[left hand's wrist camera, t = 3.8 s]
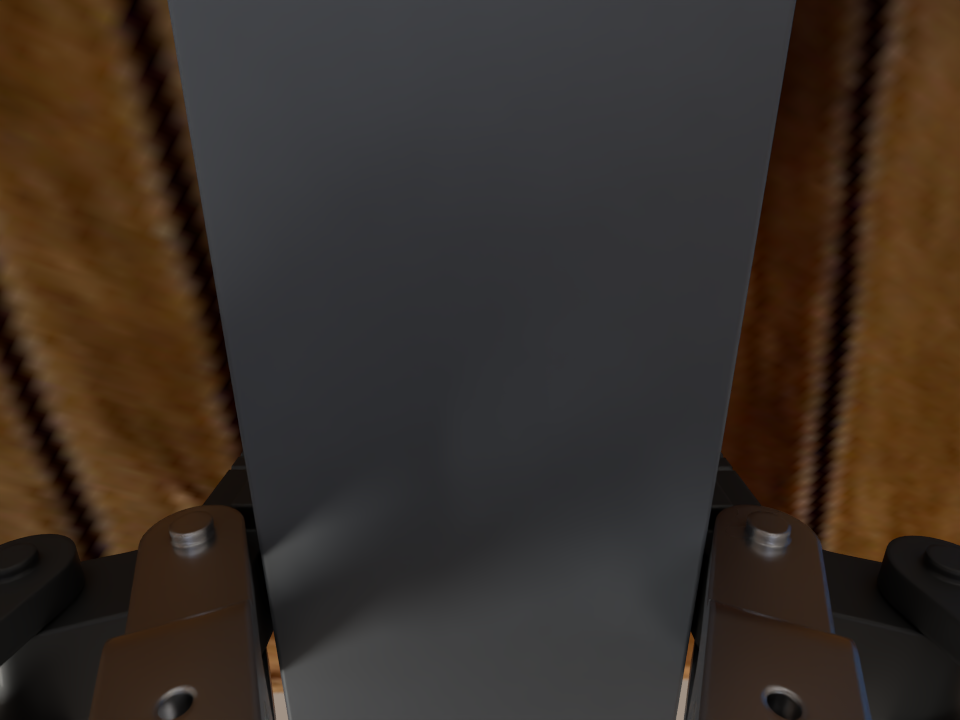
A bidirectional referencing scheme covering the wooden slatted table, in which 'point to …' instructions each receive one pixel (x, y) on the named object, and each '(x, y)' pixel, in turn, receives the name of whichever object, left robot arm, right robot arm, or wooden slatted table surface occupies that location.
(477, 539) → the bar
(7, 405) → the wooden slatted table surface
